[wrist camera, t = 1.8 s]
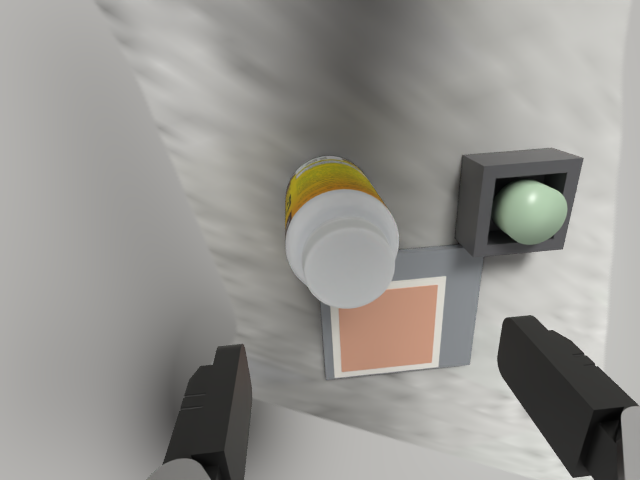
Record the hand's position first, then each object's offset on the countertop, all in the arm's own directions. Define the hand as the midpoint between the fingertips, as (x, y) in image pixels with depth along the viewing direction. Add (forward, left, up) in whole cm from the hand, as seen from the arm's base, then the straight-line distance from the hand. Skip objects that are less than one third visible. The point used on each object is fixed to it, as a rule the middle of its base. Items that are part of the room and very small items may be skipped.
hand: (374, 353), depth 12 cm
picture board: (+10, +5, -15) cm, 19 cm away
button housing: (+1, +12, -15) cm, 19 cm away
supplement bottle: (0, 0, -15) cm, 15 cm away
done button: (+1, +12, -13) cm, 18 cm away
